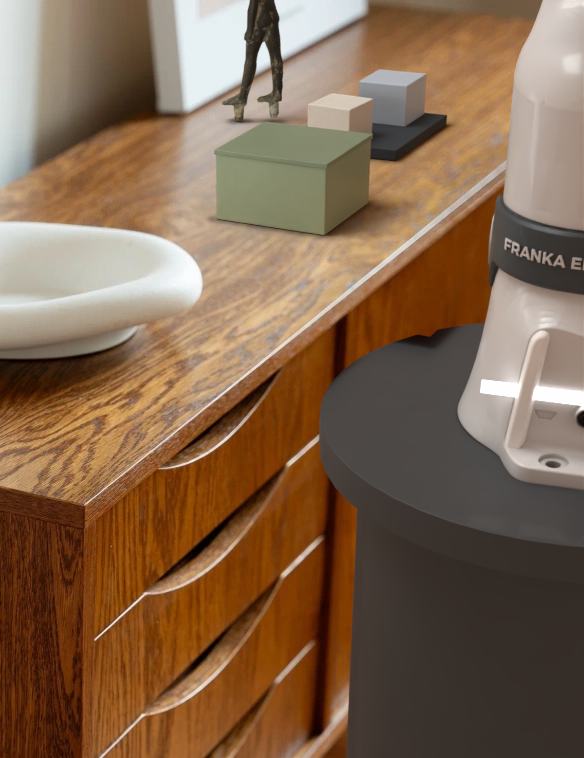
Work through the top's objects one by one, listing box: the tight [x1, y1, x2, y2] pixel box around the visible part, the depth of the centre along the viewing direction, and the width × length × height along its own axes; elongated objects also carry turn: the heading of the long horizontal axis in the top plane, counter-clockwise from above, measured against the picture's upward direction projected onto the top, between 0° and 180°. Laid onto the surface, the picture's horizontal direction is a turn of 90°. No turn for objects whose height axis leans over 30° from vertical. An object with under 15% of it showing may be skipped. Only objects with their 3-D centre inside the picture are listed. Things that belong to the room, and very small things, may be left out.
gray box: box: [357, 68, 427, 127], centre depth 146 cm, size 5×5×4 cm
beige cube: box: [307, 92, 373, 134], centre depth 142 cm, size 4×4×4 cm
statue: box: [221, 0, 284, 122], centre depth 148 cm, size 5×6×20 cm
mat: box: [370, 112, 448, 162], centre depth 146 cm, size 11×13×1 cm
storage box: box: [213, 121, 373, 236], centre depth 126 cm, size 10×9×6 cm
